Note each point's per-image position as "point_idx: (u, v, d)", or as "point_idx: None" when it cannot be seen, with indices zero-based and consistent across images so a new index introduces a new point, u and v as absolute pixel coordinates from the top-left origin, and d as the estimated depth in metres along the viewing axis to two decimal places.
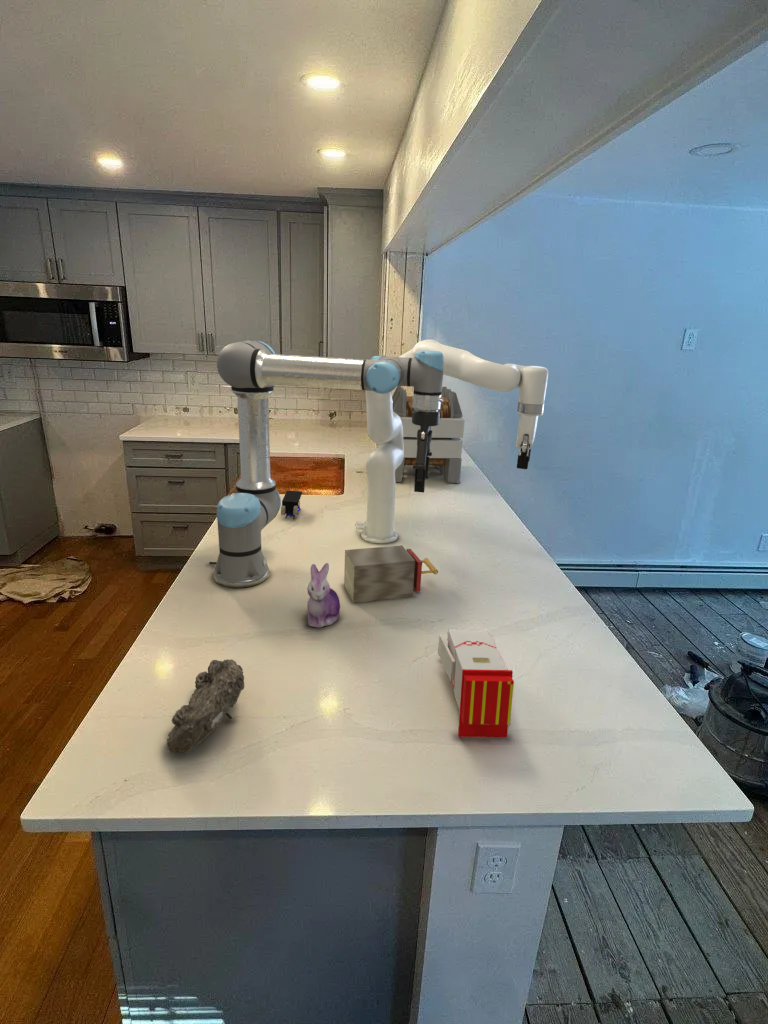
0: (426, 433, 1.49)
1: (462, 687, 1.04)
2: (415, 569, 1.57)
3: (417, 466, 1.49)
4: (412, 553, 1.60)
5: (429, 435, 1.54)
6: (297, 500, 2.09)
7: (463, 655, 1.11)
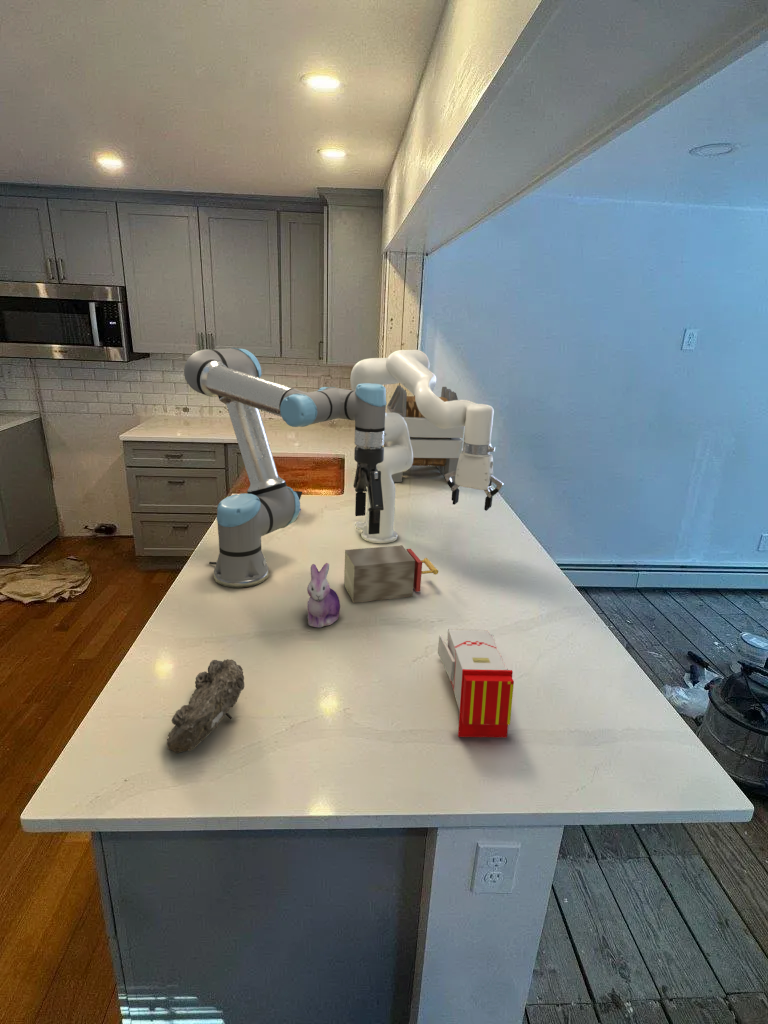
0: (379, 472, 1.40)
1: (462, 687, 1.04)
2: (415, 569, 1.57)
3: (376, 508, 1.39)
4: (412, 553, 1.60)
5: None
6: None
7: (463, 655, 1.11)
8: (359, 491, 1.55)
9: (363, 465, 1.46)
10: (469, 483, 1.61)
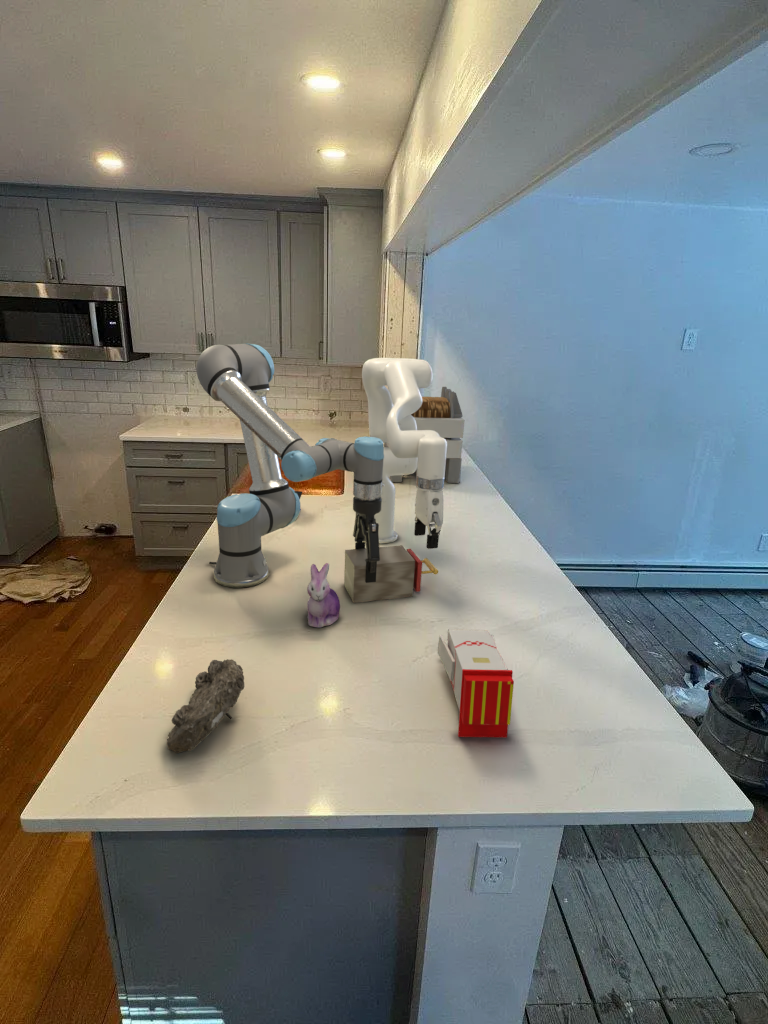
0: (377, 525, 1.45)
1: (462, 687, 1.04)
2: (415, 569, 1.57)
3: (372, 559, 1.45)
4: (412, 553, 1.60)
5: None
6: None
7: (463, 655, 1.11)
8: (358, 540, 1.59)
9: (361, 514, 1.51)
10: (419, 516, 1.55)
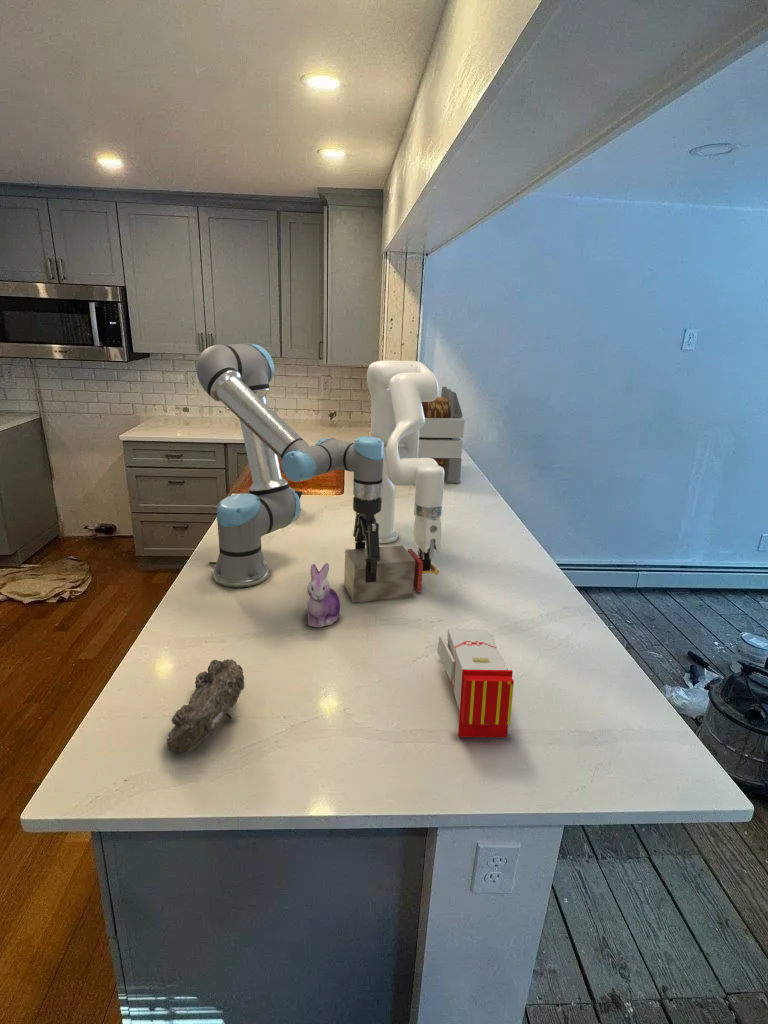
0: (377, 525, 1.45)
1: (462, 687, 1.04)
2: (416, 569, 1.57)
3: (372, 559, 1.45)
4: (413, 553, 1.60)
5: None
6: None
7: (463, 655, 1.11)
8: (359, 540, 1.59)
9: (361, 514, 1.51)
10: (417, 542, 1.58)
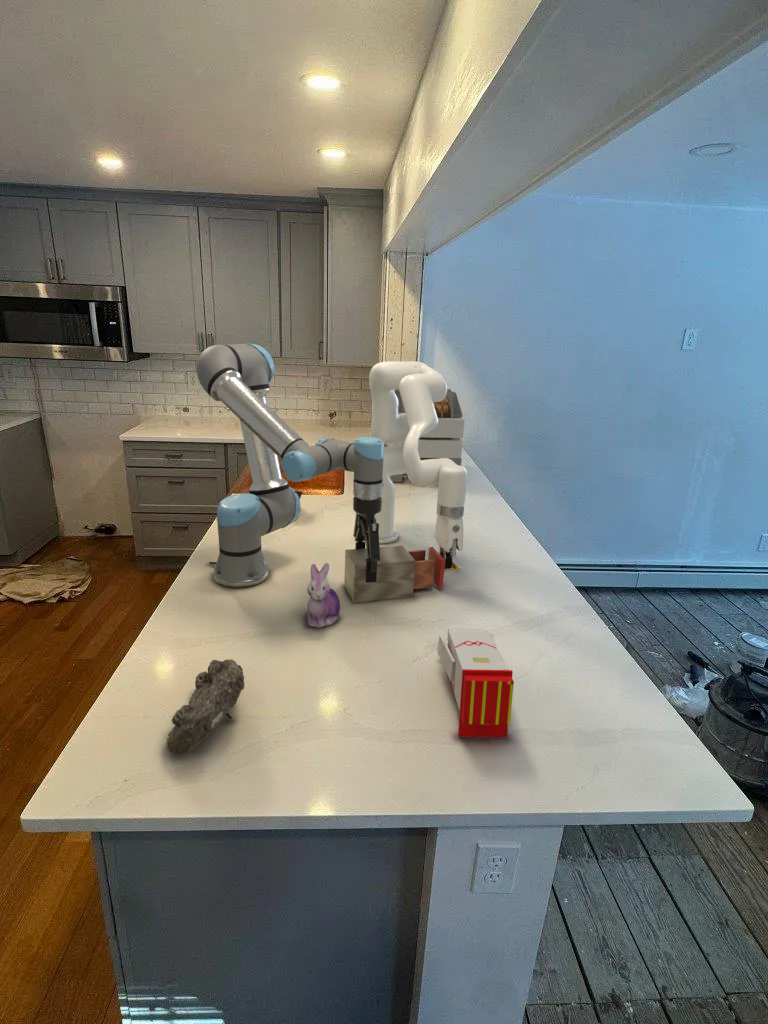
0: (377, 525, 1.45)
1: (462, 687, 1.04)
2: (438, 567, 1.59)
3: (373, 559, 1.45)
4: (435, 551, 1.62)
5: (374, 522, 1.49)
6: None
7: (463, 655, 1.11)
8: (359, 540, 1.59)
9: (362, 514, 1.51)
10: (439, 541, 1.60)
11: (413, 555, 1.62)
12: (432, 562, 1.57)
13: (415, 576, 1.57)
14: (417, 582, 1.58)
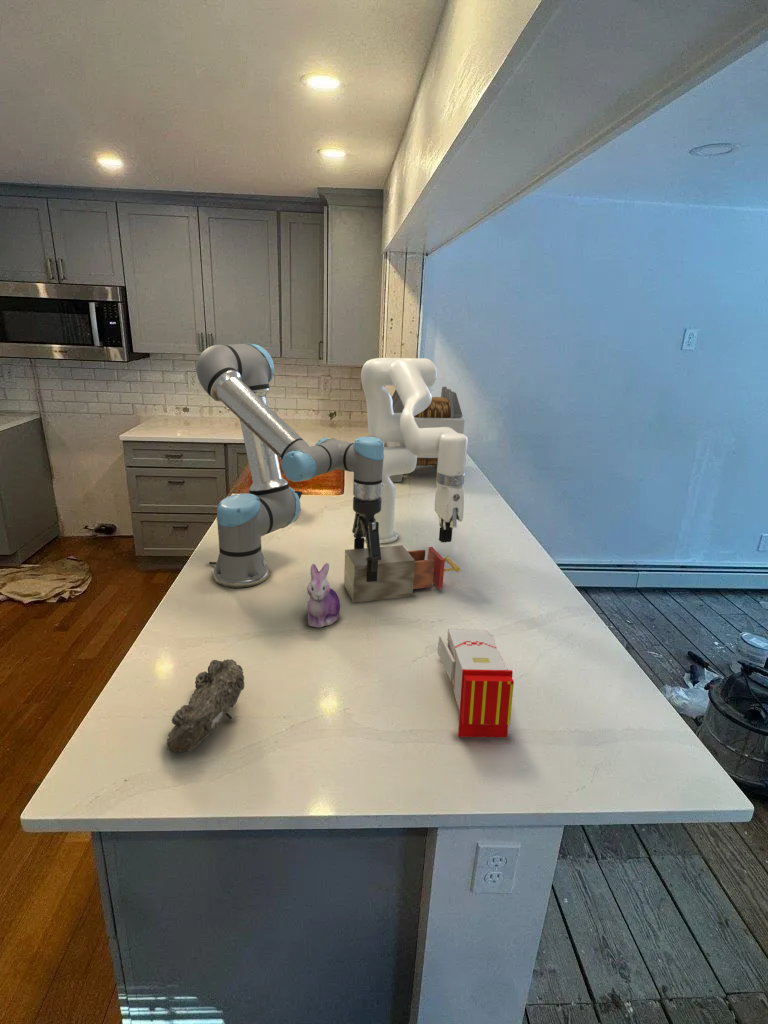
0: (377, 523, 1.45)
1: (462, 687, 1.04)
2: (438, 567, 1.59)
3: (373, 558, 1.44)
4: (434, 551, 1.62)
5: (374, 522, 1.49)
6: None
7: (463, 655, 1.11)
8: (357, 537, 1.60)
9: (361, 514, 1.51)
10: (439, 512, 1.57)
11: (413, 555, 1.62)
12: (432, 561, 1.57)
13: (414, 575, 1.57)
14: (416, 582, 1.58)
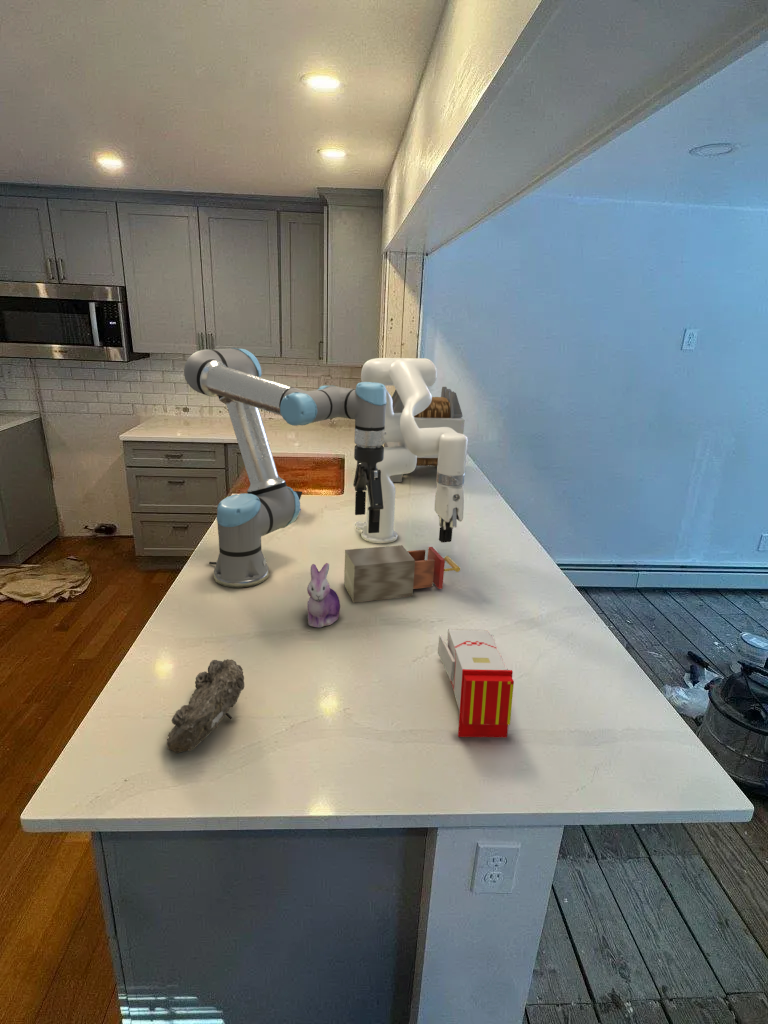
0: (379, 471, 1.40)
1: (462, 687, 1.04)
2: (438, 567, 1.59)
3: (376, 507, 1.39)
4: (434, 551, 1.62)
5: None
6: None
7: (463, 655, 1.11)
8: (359, 490, 1.55)
9: (363, 464, 1.46)
10: (439, 512, 1.57)
11: (413, 555, 1.62)
12: (432, 561, 1.57)
13: (414, 575, 1.57)
14: (416, 582, 1.58)
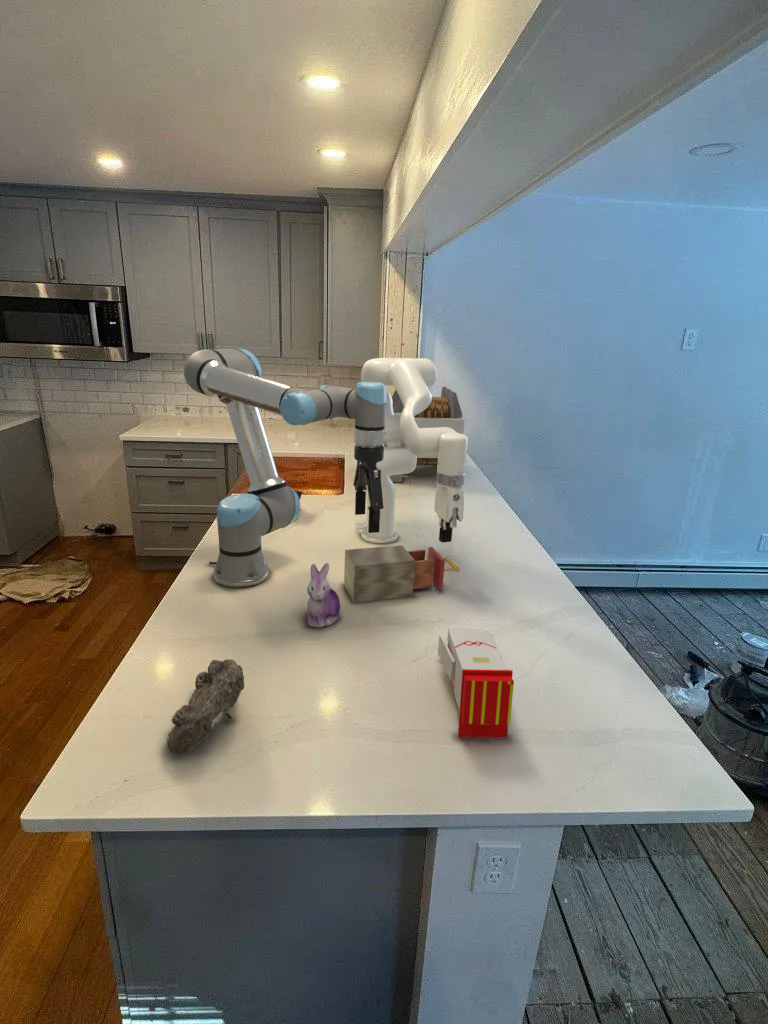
0: (379, 471, 1.40)
1: (462, 687, 1.04)
2: (438, 567, 1.59)
3: (376, 507, 1.39)
4: (434, 551, 1.62)
5: None
6: None
7: (463, 655, 1.11)
8: (359, 490, 1.55)
9: (363, 464, 1.46)
10: (439, 512, 1.57)
11: (413, 555, 1.62)
12: (432, 561, 1.57)
13: (414, 575, 1.57)
14: (416, 582, 1.58)
